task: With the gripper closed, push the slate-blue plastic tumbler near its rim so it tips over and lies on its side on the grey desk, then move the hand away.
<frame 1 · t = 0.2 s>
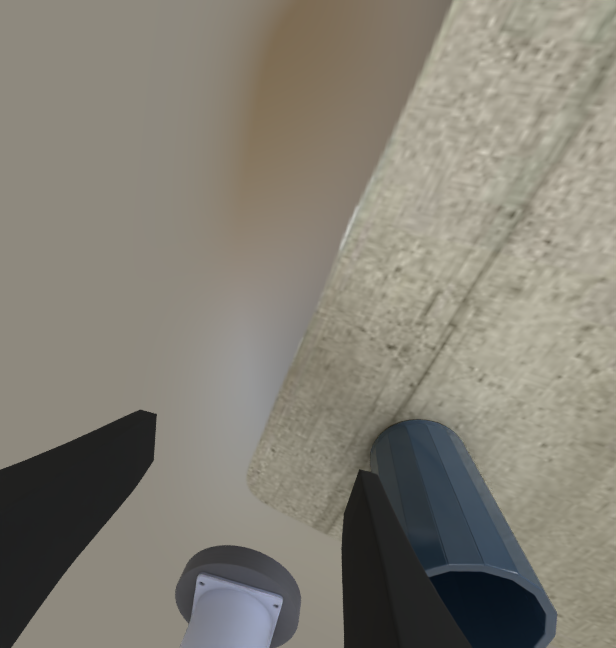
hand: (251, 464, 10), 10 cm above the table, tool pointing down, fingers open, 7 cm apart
tumbler: (417, 459, 20), on the table
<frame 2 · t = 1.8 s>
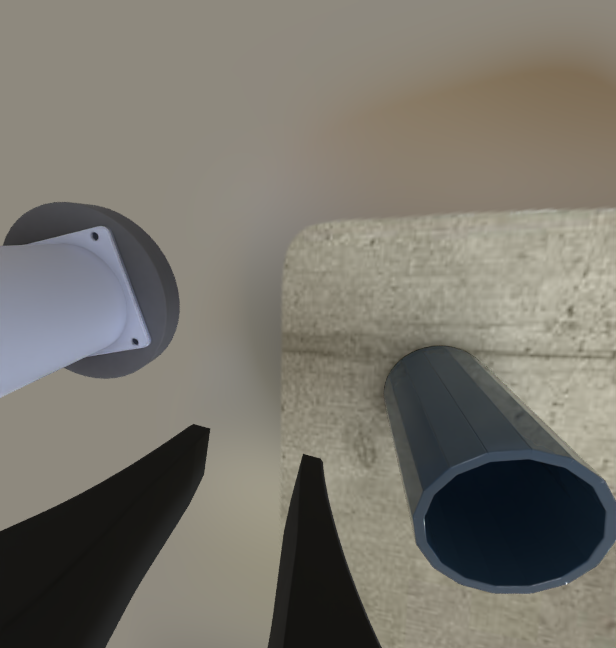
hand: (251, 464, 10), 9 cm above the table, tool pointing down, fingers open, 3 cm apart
tumbler: (435, 393, 19), on the table
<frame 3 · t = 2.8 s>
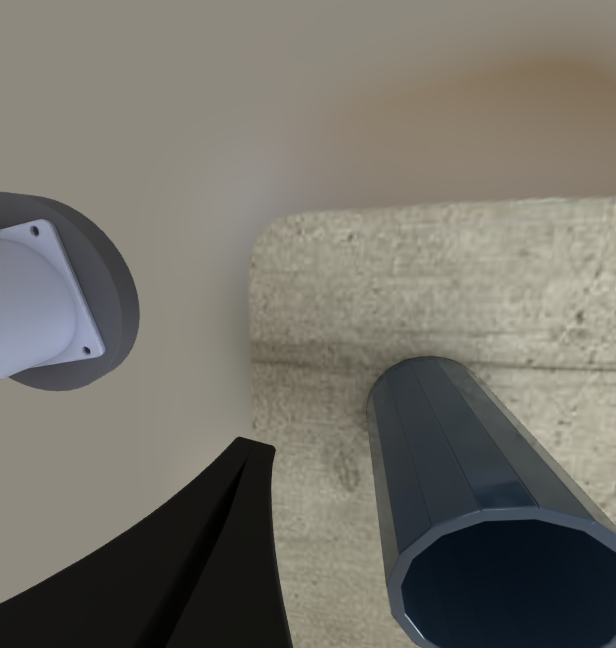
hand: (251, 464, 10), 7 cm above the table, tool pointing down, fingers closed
tumbler: (425, 409, 16), on the table
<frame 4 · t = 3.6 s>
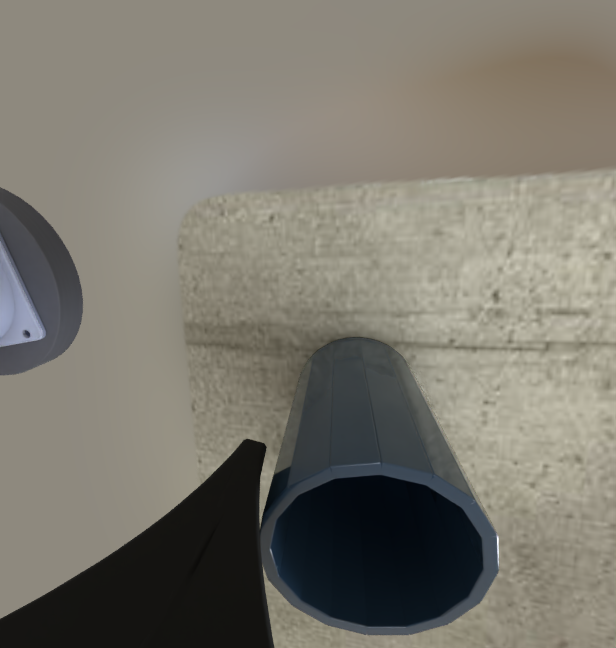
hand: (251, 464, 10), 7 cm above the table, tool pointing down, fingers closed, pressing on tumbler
tumbler: (355, 390, 17), on the table, touching gripper
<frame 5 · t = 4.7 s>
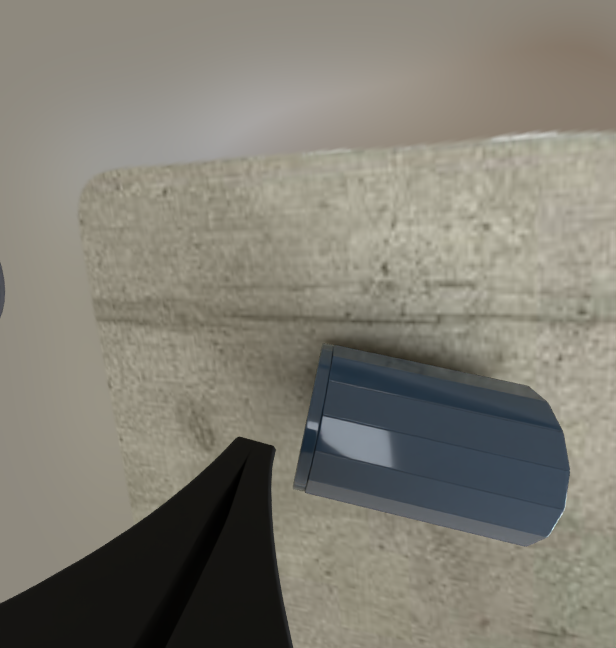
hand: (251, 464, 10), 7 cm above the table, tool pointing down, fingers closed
tumbler: (308, 410, 14), point 3 cm above the table, tilted 90°
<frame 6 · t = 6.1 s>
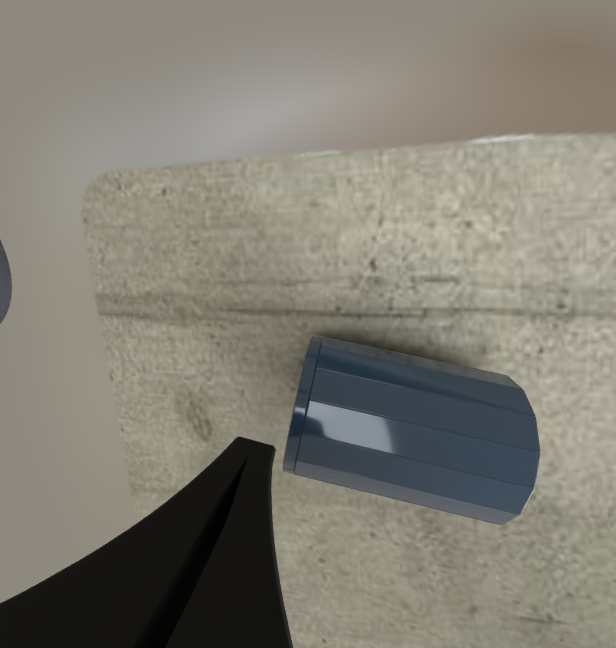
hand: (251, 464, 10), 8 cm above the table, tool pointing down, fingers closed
tumbler: (299, 399, 14), point 3 cm above the table, tilted 90°
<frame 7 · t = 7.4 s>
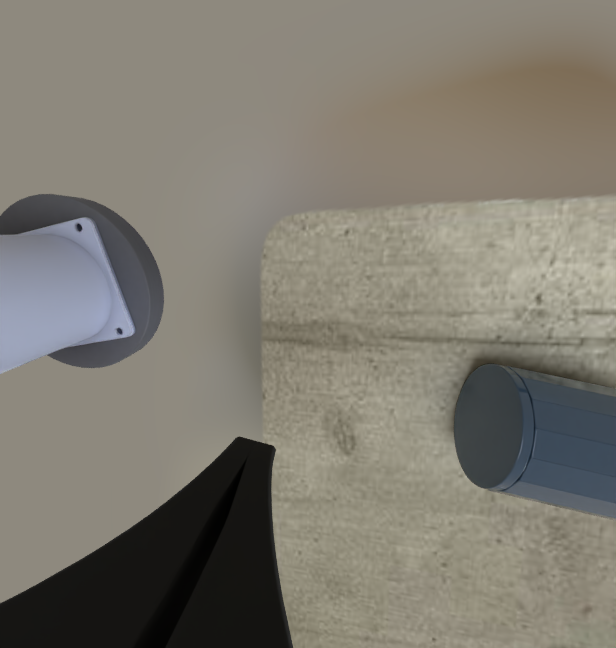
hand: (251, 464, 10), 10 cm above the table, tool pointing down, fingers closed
tumbler: (481, 422, 16), point 3 cm above the table, tilted 90°
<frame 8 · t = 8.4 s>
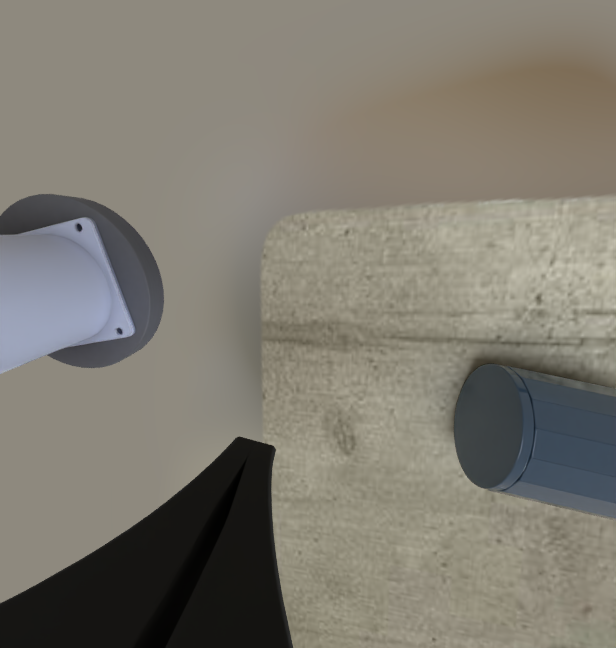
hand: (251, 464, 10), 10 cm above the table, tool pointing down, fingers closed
tumbler: (481, 422, 16), point 3 cm above the table, tilted 90°
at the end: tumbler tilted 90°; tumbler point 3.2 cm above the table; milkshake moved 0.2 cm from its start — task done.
